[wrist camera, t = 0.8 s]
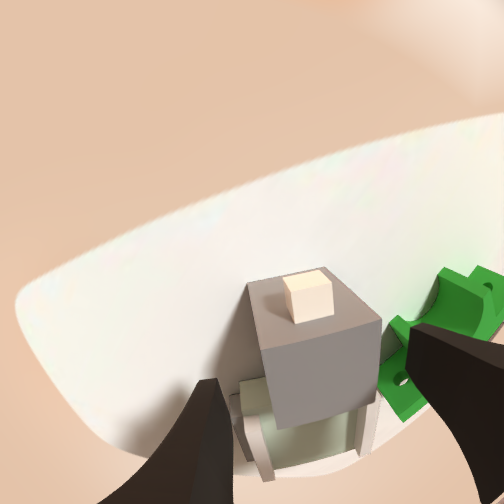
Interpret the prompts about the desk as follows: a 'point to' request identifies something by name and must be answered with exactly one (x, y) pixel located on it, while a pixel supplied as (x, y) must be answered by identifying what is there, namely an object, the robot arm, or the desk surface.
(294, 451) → the pale grey-green blocky piece
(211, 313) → the desk surface
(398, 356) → the pipe clamp
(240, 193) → the desk surface
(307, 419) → the dark grey block
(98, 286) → the desk surface
